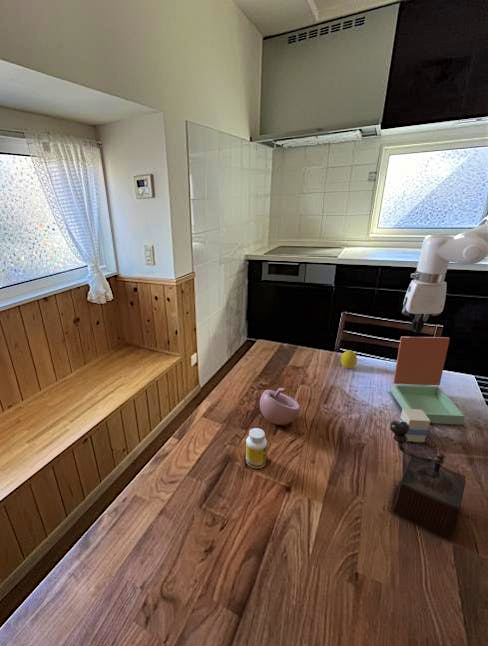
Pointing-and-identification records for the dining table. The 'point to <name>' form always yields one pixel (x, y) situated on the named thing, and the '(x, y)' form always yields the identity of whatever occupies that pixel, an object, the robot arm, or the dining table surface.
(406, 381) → the lunchbox lid
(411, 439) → the drink carton
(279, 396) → the mortar and pestle
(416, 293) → the robot arm
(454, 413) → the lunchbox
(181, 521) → the dining table surface
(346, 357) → the lemon
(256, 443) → the supplement bottle
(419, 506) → the manual coffee grinder
